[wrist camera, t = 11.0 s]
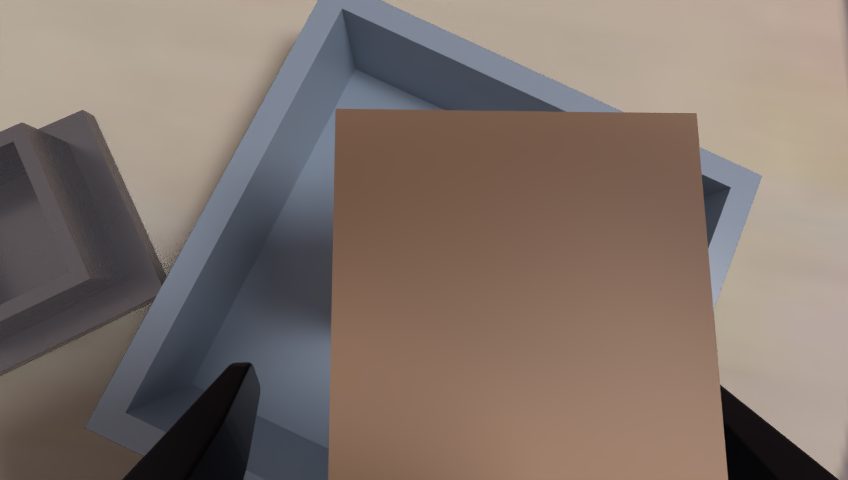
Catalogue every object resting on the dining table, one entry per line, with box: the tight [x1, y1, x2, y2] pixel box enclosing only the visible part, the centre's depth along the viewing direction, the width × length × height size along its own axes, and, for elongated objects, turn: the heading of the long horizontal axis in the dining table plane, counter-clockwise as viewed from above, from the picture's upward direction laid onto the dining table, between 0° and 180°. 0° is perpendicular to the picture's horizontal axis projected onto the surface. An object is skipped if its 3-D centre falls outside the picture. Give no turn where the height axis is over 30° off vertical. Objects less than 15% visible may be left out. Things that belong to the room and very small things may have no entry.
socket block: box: [0, 110, 167, 376], centre depth 15 cm, size 8×8×3 cm
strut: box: [328, 109, 728, 480], centre depth 10 cm, size 4×4×12 cm
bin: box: [85, 0, 762, 480], centre depth 15 cm, size 15×15×4 cm
